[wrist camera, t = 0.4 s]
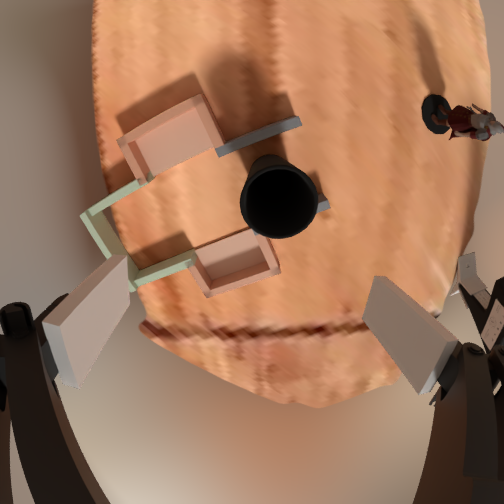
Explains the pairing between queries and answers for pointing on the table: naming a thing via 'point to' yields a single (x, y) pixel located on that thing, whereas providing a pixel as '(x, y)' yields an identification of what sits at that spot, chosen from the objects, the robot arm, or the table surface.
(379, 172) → the table surface
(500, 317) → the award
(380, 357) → the table surface
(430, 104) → the figurine
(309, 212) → the cup
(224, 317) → the table surface
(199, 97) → the track
